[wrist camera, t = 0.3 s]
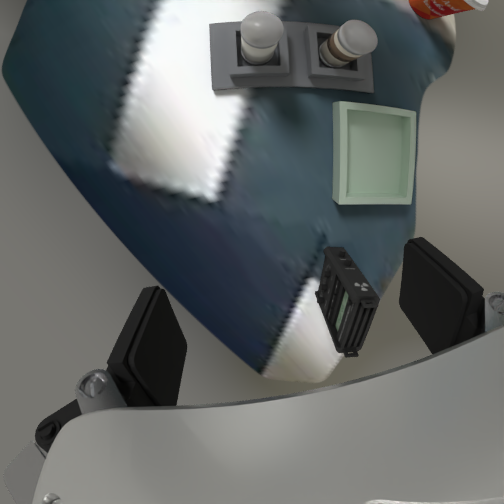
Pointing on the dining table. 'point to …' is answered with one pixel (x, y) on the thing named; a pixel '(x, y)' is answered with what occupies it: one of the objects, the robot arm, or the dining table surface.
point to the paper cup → (445, 7)
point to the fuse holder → (285, 61)
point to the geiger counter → (345, 301)
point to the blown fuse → (347, 44)
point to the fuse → (260, 37)
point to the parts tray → (373, 154)
